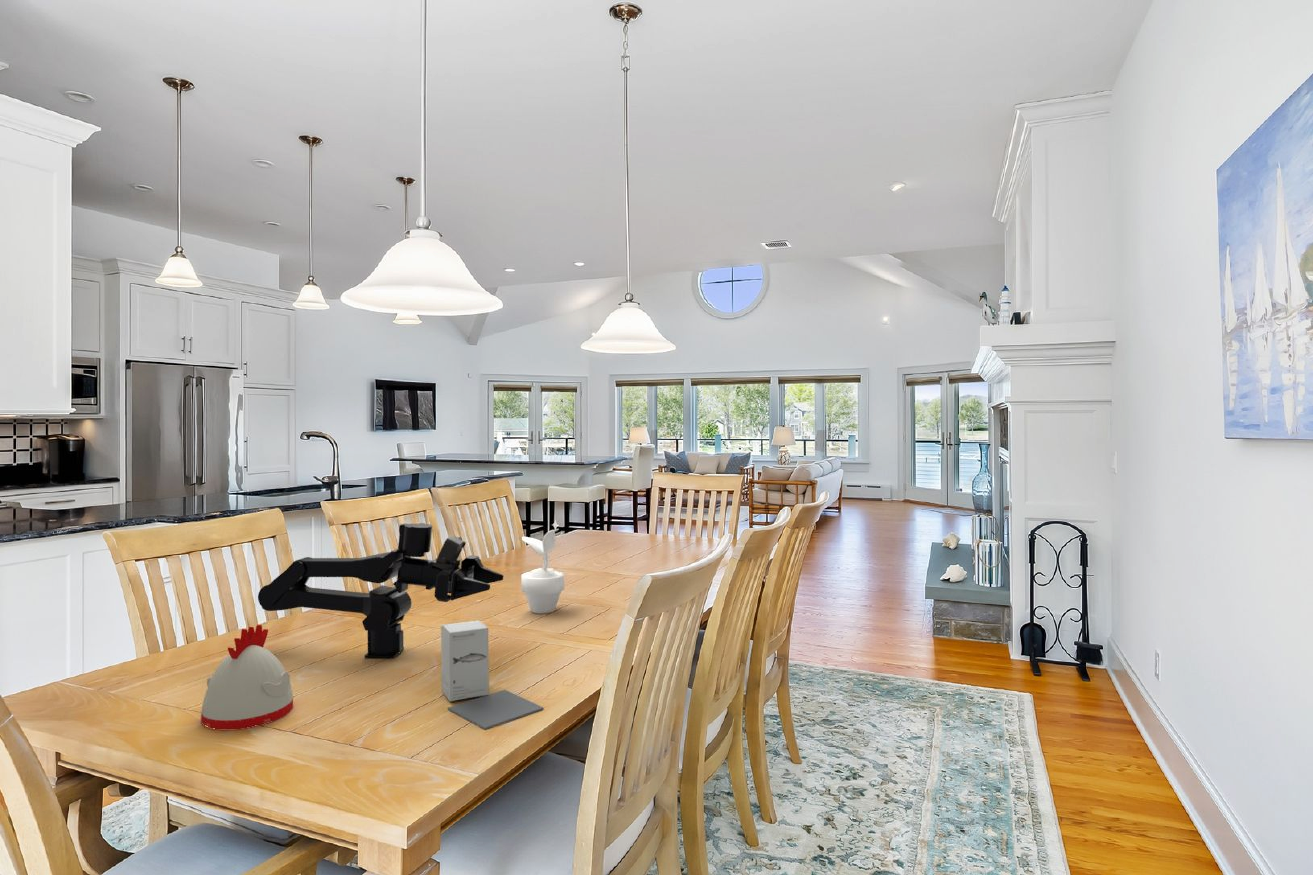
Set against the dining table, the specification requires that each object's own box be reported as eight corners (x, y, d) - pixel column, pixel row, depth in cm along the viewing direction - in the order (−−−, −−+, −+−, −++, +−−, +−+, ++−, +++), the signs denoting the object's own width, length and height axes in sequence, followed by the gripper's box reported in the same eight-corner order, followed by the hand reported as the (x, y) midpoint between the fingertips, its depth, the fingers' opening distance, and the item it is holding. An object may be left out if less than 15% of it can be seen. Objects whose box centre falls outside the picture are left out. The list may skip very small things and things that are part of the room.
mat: (447, 709, 127) (447, 707, 127) (504, 691, 136) (504, 689, 136) (484, 729, 119) (484, 727, 119) (543, 709, 128) (543, 707, 128)
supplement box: (449, 702, 130) (448, 632, 130) (441, 690, 136) (440, 623, 136) (490, 695, 133) (489, 626, 133) (480, 684, 140) (479, 618, 140)
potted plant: (573, 609, 196) (573, 517, 195) (544, 619, 186) (545, 522, 185) (538, 602, 202) (538, 513, 202) (508, 611, 193) (508, 518, 192)
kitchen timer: (310, 702, 131) (310, 619, 130) (251, 734, 117) (251, 642, 117) (245, 695, 134) (244, 614, 134) (181, 725, 120) (180, 636, 120)
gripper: (412, 543, 147) (486, 553, 146) (446, 529, 166) (513, 538, 164) (406, 597, 147) (480, 607, 146) (442, 577, 166) (508, 586, 164)
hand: (496, 582), depth 155 cm, fingers open, 9 cm apart
